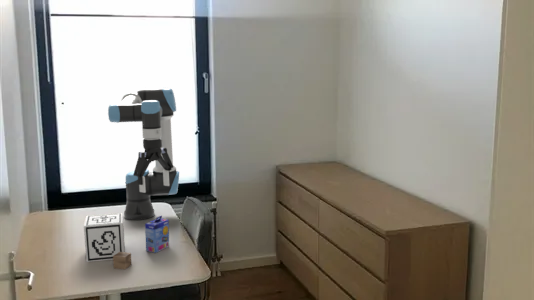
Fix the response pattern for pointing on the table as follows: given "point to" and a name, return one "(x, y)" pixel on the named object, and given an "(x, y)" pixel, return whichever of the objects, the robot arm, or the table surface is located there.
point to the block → (103, 236)
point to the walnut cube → (122, 260)
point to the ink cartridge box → (157, 234)
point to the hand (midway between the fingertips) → (154, 188)
